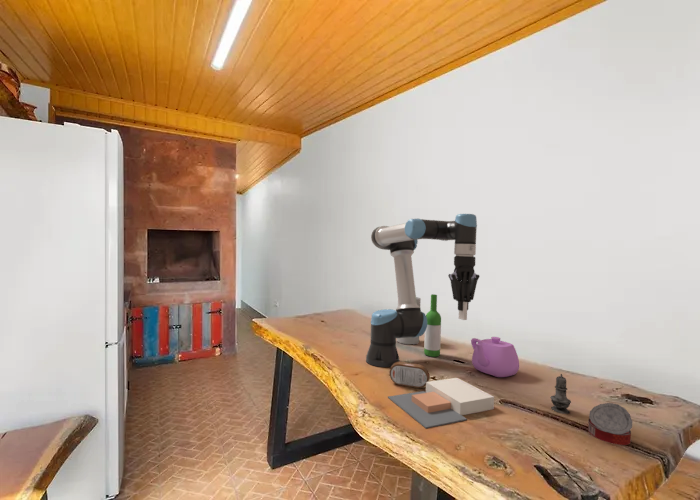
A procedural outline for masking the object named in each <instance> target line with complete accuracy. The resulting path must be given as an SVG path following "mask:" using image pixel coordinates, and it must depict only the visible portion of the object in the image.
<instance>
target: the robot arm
mask: <svg viewBox="0 0 700 500" xmlns="http://www.w3.org/2000/svg"><path fill="white" fill-rule="evenodd" d="M477 223H478V222H477V215H476V214H473V213H457V214H456V215H455V219H454V220H450V221H447V220H435V219H423V218H422V219H421V218H410V219H408V220H407V221H406V222H404V223H399V224H396V225H391V226H387V225H382V226H378V227H376V228H374V230H373V231H372V233H371V235H370V236H371V238H370V239H371V242H372V244H373V245H374V246H375V247H376V248H378V249H380V250H385V251H387V250H388V251H389V254H390V256H392V257H393V261H394V263H393V264H394V272H395V281H396V290H397V291H396V293H397V304H398V303H399V306H398V305H397V307H396V308H395V309H390V308H389V309H387V308H386V309H380V310H379V309H378V310H375V311H374V312H373V313H372V314H371V318H370V342H369V347H368V350H367V354H366V355H365V361H366V363H367V364H368V365H370V366H375V367H379V368H380V367H381V368H391V366H392V365H393V364H394V363H396V362H400V355H399V353H398V350H397V349H398V348H397V338H410V337H412V338H414V337H419V338H420V337H422V336H423V335H425V331H426V328H427V317H426V313H425V312H423V311H421V310H422V309H421V306H420V307H419V306H418V305H417V302H416V297H417V295H416V294H417V293H416V286H415V278H414V269H413V260H412V255H413V254H414V252H415V250H416V249H417V247H418V243H419V242H418V240H438V241H444V242H447V241H454V251H453V254H454V255H455V256H454V257H453V265H454V270H453V272H452V273H448V278H449V280H450V287H451V291H452V297H453V300H455V301H456V302H457V310H458V319H459V320H462V321H467V320H468V310H469V304H470V303H471V301H473V300H474V297H475V292H476V288H477V283H478V280H479V278H480V274H477V273H476V272H475V267H476V250H477V229H478V224H477Z"/></svg>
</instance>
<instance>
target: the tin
mask: <svg viewBox="0 0 700 500" xmlns="http://www.w3.org/2000/svg"><path fill="white" fill-rule="evenodd" d="M389 378H390V379H391V380H392V382H393V383H394V384H396V385H399V386H404V387H409V388H414V389H415V388H416V389H423V388H426V382H430V378H431V377H430V372H429V369H428V368H427V367H426V366H424V365H422V364H419V363H418V364H417V363H412V362H411V363H410V362H407V361H405V362H404V361H399V362H396V363H394V364H393V365H392V366H391V367H390V370H389Z"/></svg>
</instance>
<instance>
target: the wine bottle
mask: <svg viewBox="0 0 700 500" xmlns="http://www.w3.org/2000/svg"><path fill="white" fill-rule="evenodd" d="M437 303H438V295H437V294H434V293H433V294H431V295H430V307H429V308H430V309H429V311H428V312H427V313H425V316H426V317H427V328H426V331H425V333H424V339H423V341H424V344H423V345H424V347H423V352H424V355H425V356H427V357H431V358H437V357H439V356H440V355H441V354H440V353H441V338H442V337H441V332H442V316H441V314H440V313H439V312H438V310H437V307H438V306H437V305H438V304H437Z"/></svg>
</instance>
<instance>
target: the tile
mask: <svg viewBox="0 0 700 500" xmlns="http://www.w3.org/2000/svg"><path fill="white" fill-rule="evenodd" d="M412 402H414V403H415V404H416V405H418V406H419V407H420V408H422V409H423V410H424V411H426V412H427V413H430V412H435V411H440V410H446V409H451V402H449V401H448V400H446V399H445V398H443V397H441V396H440V395H438V394H437V393H435V392H428V393H422V394H416V395H412Z"/></svg>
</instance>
